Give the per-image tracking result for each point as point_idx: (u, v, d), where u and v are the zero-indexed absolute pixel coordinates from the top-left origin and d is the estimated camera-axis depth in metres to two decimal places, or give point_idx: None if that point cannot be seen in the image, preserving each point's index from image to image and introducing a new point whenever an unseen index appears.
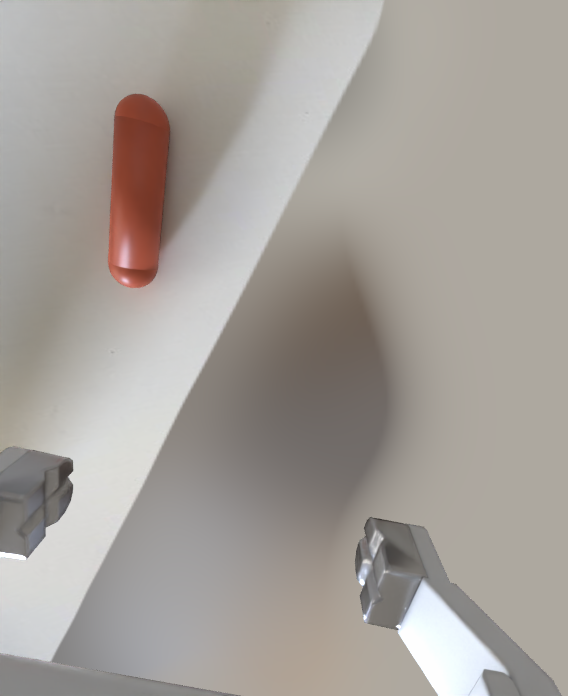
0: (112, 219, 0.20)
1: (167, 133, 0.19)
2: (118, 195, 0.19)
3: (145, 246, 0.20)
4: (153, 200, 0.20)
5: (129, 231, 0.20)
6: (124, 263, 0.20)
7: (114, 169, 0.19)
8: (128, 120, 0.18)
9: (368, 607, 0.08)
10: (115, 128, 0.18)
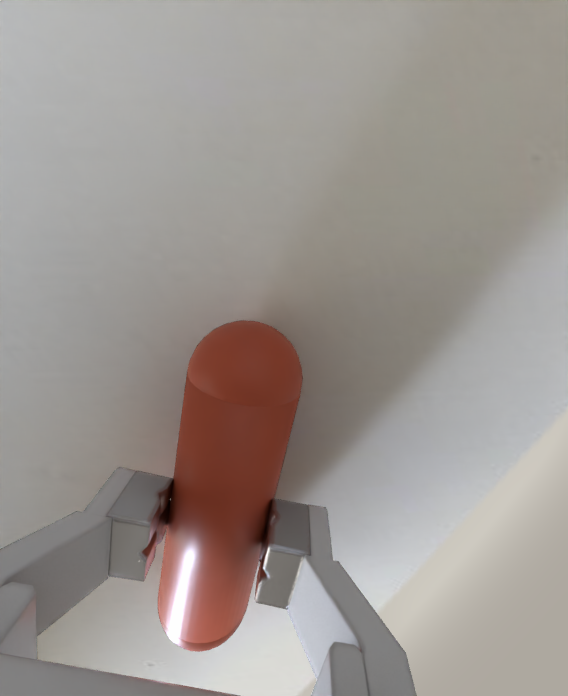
0: (174, 562, 0.09)
1: (299, 394, 0.09)
2: (191, 531, 0.09)
3: (238, 598, 0.10)
4: (262, 523, 0.09)
5: (211, 591, 0.09)
6: (195, 636, 0.10)
7: (184, 482, 0.08)
8: (228, 407, 0.07)
9: (257, 586, 0.08)
10: (192, 409, 0.08)
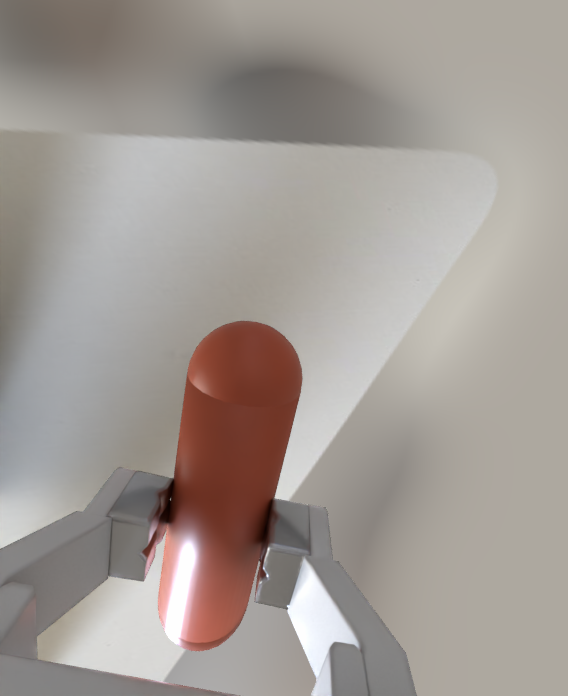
0: (174, 561, 0.09)
1: (299, 394, 0.09)
2: (191, 531, 0.09)
3: (239, 597, 0.10)
4: (262, 523, 0.09)
5: (211, 591, 0.09)
6: (195, 636, 0.10)
7: (184, 482, 0.08)
8: (228, 408, 0.07)
9: (257, 586, 0.08)
10: (192, 409, 0.08)
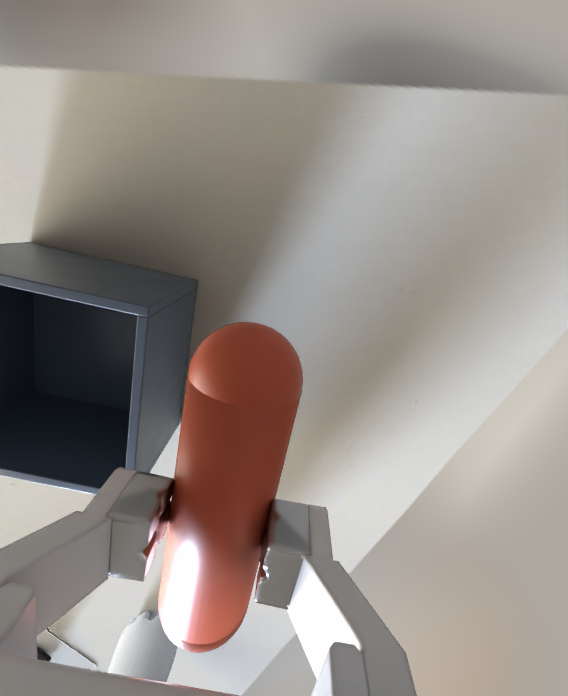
0: (174, 563, 0.09)
1: (300, 395, 0.09)
2: (192, 532, 0.09)
3: (239, 599, 0.10)
4: (263, 524, 0.09)
5: (211, 592, 0.09)
6: (196, 637, 0.10)
7: (185, 484, 0.08)
8: (229, 409, 0.07)
9: (257, 586, 0.08)
10: (192, 410, 0.08)
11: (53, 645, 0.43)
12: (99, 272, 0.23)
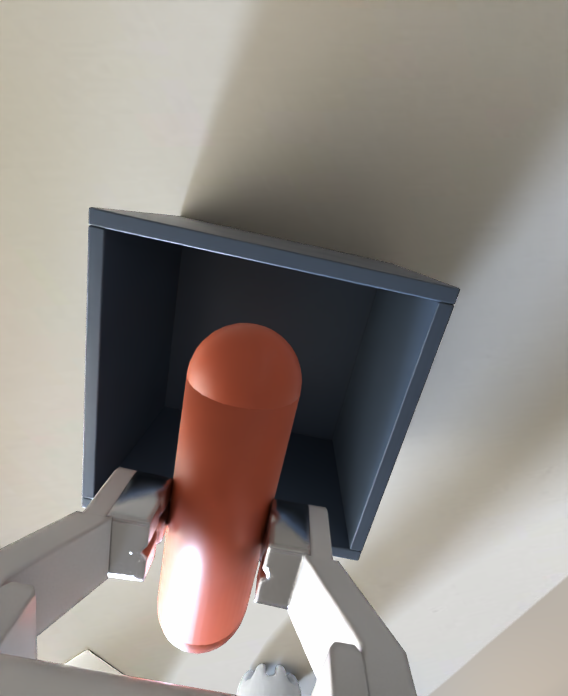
0: (173, 564, 0.09)
1: (299, 396, 0.09)
2: (191, 533, 0.09)
3: (238, 600, 0.10)
4: (262, 525, 0.09)
5: (210, 593, 0.09)
6: (194, 638, 0.10)
7: (184, 485, 0.08)
8: (227, 410, 0.07)
9: (257, 586, 0.08)
10: (191, 411, 0.08)
11: None
12: (309, 248, 0.17)
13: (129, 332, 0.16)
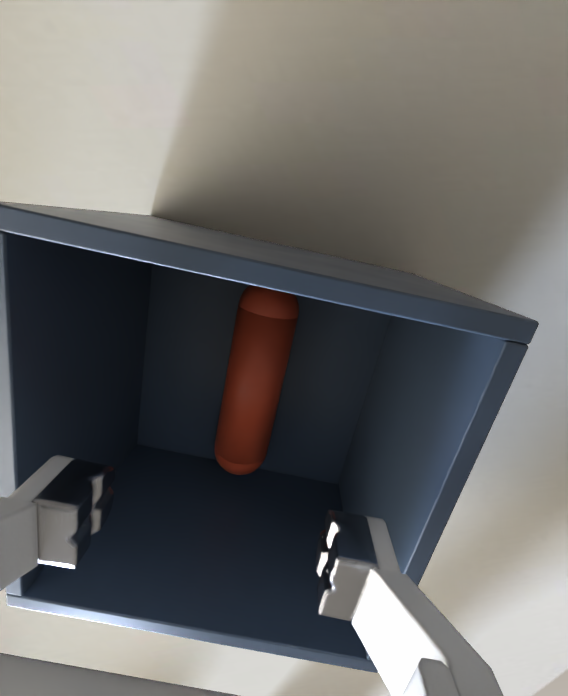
0: (227, 413, 0.17)
1: (297, 318, 0.16)
2: (239, 391, 0.16)
3: (262, 439, 0.17)
4: (276, 392, 0.17)
5: (248, 429, 0.17)
6: (238, 459, 0.17)
7: (236, 363, 0.16)
8: (261, 318, 0.15)
9: (321, 599, 0.08)
10: (241, 321, 0.15)
11: None
12: (312, 257, 0.13)
13: (70, 371, 0.12)
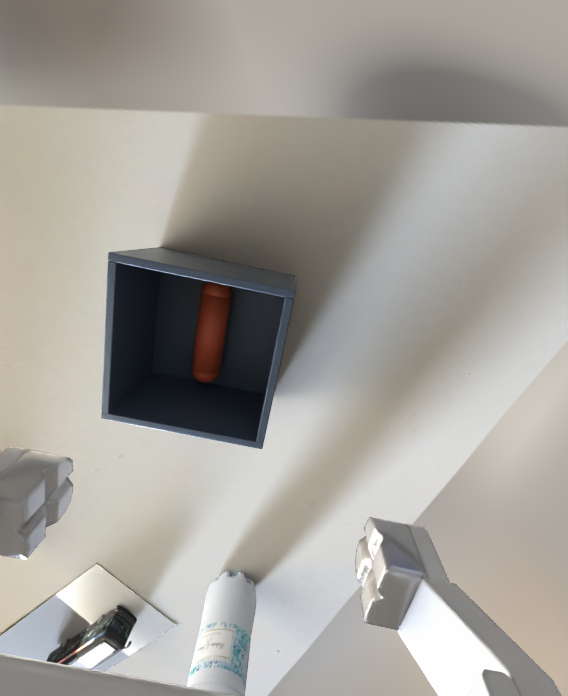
0: (196, 345, 0.33)
1: (230, 298, 0.32)
2: (200, 333, 0.33)
3: (213, 361, 0.33)
4: (220, 335, 0.33)
5: (205, 353, 0.33)
6: (200, 370, 0.33)
7: (199, 319, 0.32)
8: (208, 296, 0.31)
9: (367, 607, 0.08)
10: (201, 298, 0.32)
11: (139, 607, 0.48)
12: (233, 269, 0.29)
13: (128, 317, 0.28)
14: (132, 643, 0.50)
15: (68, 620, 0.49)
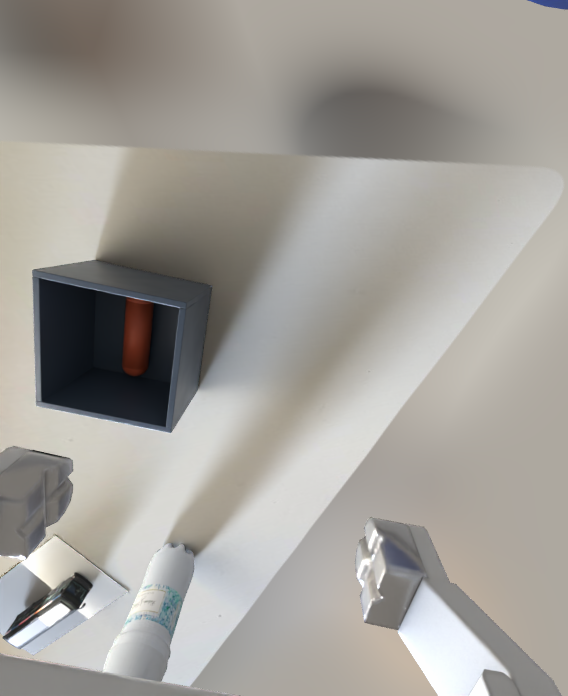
0: (123, 344, 0.39)
1: (150, 304, 0.37)
2: (125, 333, 0.38)
3: (137, 358, 0.39)
4: (141, 336, 0.38)
5: (129, 351, 0.38)
6: (126, 365, 0.39)
7: None
8: (129, 302, 0.37)
9: (367, 607, 0.08)
10: None
11: (95, 574, 0.54)
12: (148, 281, 0.34)
13: (58, 321, 0.34)
14: (90, 607, 0.56)
15: (32, 585, 0.55)
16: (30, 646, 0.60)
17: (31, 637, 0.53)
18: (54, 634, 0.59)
